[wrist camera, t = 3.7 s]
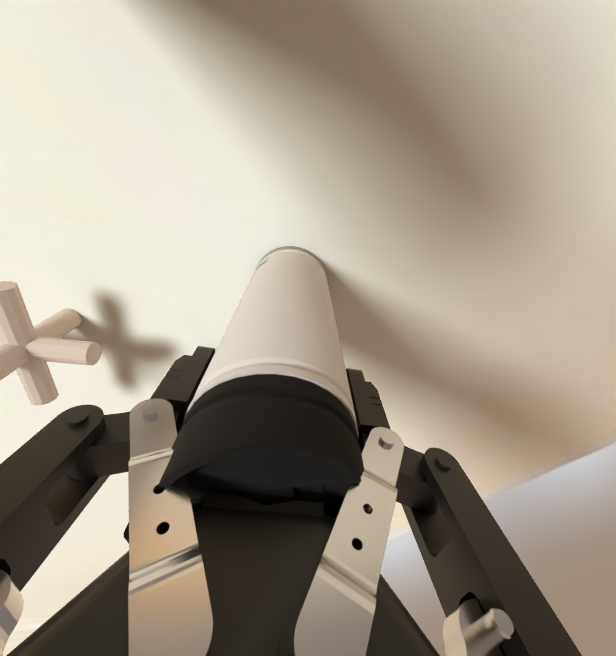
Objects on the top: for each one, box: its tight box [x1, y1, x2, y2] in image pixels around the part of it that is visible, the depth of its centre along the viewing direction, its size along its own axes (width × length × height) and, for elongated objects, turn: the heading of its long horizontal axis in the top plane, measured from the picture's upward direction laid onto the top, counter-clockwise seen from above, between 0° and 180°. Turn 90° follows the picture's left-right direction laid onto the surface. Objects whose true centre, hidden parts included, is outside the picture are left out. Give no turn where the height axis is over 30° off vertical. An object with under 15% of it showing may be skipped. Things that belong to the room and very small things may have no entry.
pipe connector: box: [0, 282, 101, 405], centre depth 22 cm, size 10×10×10 cm
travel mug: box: [124, 246, 365, 543], centre depth 16 cm, size 6×7×20 cm
